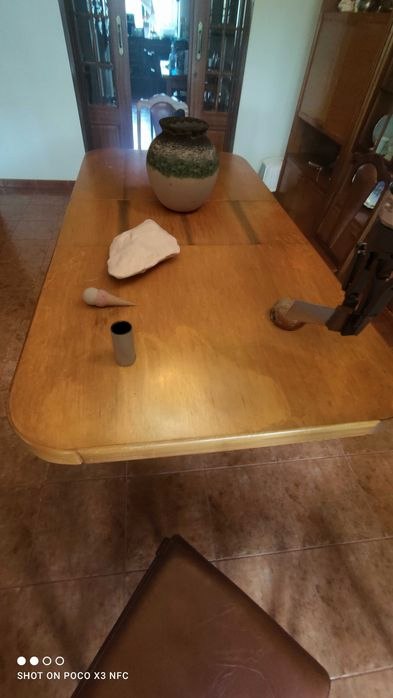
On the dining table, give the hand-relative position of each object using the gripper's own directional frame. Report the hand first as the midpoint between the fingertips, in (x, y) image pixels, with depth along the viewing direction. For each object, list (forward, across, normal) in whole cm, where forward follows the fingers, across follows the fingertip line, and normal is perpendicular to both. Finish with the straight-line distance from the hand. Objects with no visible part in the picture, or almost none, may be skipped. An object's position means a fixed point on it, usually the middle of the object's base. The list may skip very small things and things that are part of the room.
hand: (343, 329), depth 69 cm
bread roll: (+12, -18, -3) cm, 21 cm away
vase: (+11, -91, -24) cm, 95 cm away
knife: (-2, 0, -6) cm, 6 cm away
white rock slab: (+12, -49, -42) cm, 65 cm away
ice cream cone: (+12, -27, -51) cm, 59 cm away
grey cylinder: (+12, -6, -47) cm, 49 cm away
